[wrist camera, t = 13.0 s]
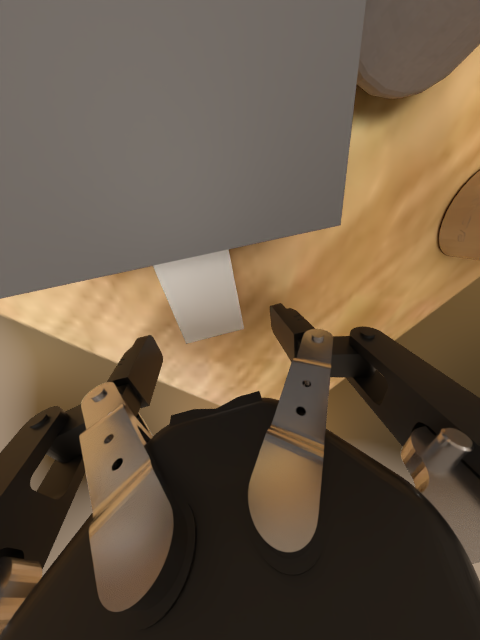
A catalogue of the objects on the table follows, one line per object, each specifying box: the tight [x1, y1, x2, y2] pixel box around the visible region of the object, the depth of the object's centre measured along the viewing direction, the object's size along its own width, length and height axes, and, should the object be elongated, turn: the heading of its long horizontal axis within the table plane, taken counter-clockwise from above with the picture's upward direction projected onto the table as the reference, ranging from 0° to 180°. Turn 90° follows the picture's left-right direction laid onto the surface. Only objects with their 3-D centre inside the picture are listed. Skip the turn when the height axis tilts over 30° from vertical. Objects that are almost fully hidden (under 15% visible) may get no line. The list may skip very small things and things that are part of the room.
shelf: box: [0, 0, 366, 299], centre depth 8 cm, size 11×14×10 cm
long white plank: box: [153, 249, 244, 344], centre depth 13 cm, size 16×5×5 cm, turn 11°
